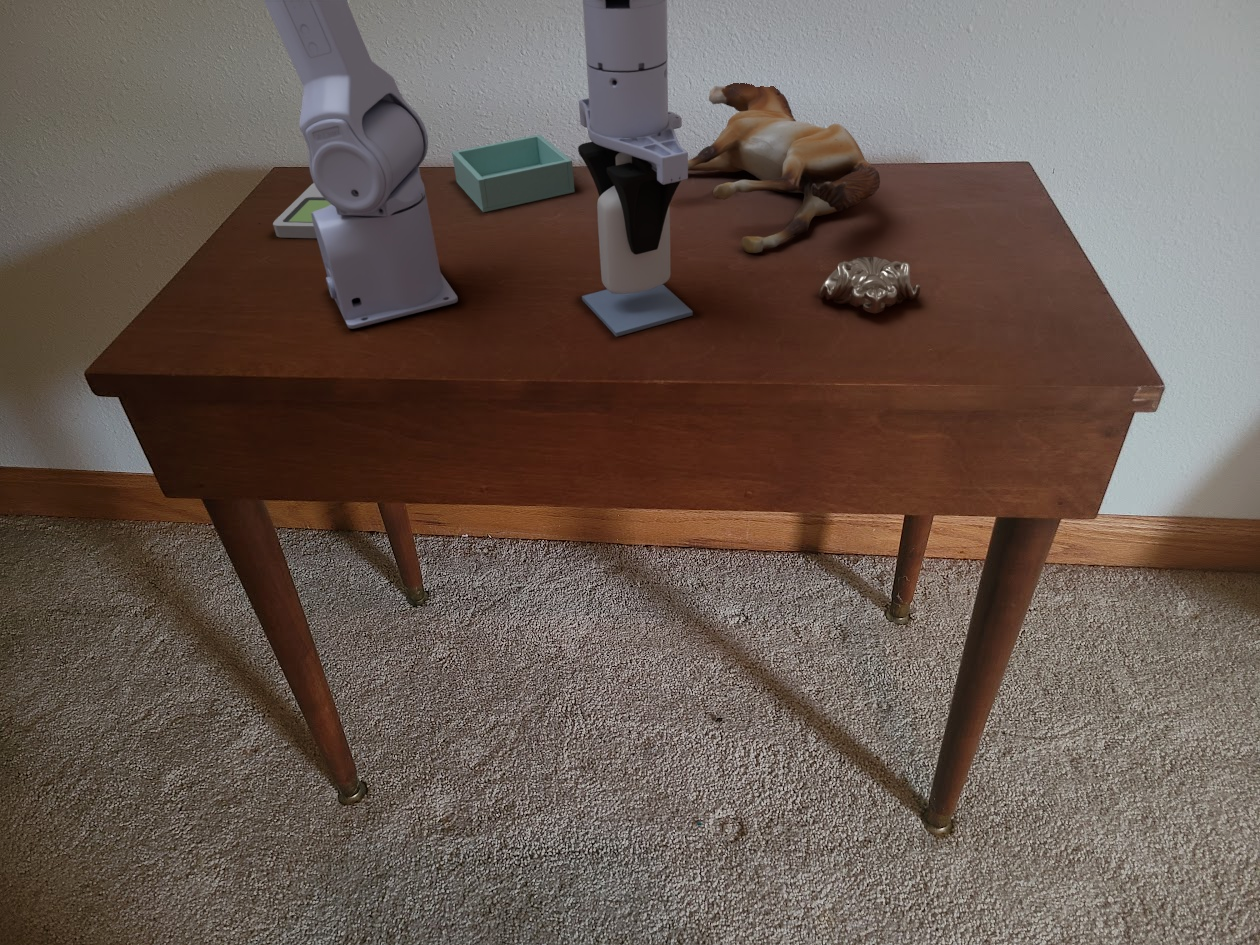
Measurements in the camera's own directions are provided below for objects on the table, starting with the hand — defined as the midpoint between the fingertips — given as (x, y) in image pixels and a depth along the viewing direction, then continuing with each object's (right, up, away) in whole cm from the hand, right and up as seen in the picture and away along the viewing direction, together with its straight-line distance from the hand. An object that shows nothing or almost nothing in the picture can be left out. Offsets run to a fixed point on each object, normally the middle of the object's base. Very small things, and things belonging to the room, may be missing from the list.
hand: (633, 240), depth 72 cm
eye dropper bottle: (0, -3, +3) cm, 4 cm away
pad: (0, -5, +4) cm, 6 cm away
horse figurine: (+5, +10, +13) cm, 17 cm away
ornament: (+19, -5, +3) cm, 20 cm away
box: (-13, +12, +25) cm, 31 cm away
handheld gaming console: (-30, +9, +23) cm, 39 cm away
